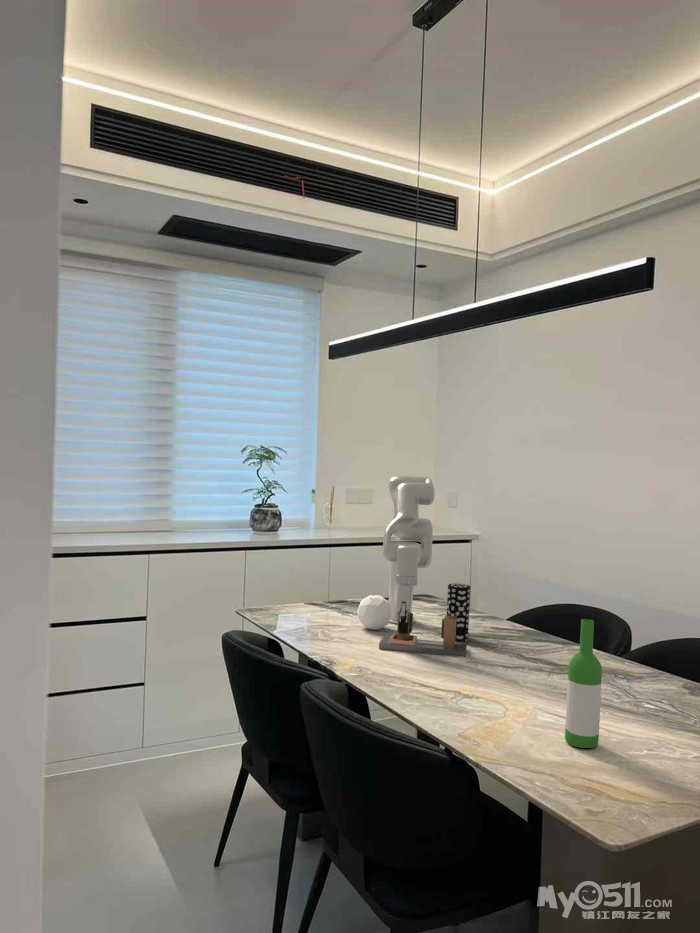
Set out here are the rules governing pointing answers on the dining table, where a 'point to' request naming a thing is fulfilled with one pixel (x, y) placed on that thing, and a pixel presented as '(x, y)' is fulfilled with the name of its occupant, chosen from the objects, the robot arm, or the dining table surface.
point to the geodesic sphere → (374, 612)
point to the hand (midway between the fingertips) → (404, 630)
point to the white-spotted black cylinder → (459, 608)
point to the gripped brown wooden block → (410, 625)
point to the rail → (429, 642)
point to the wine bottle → (584, 693)
